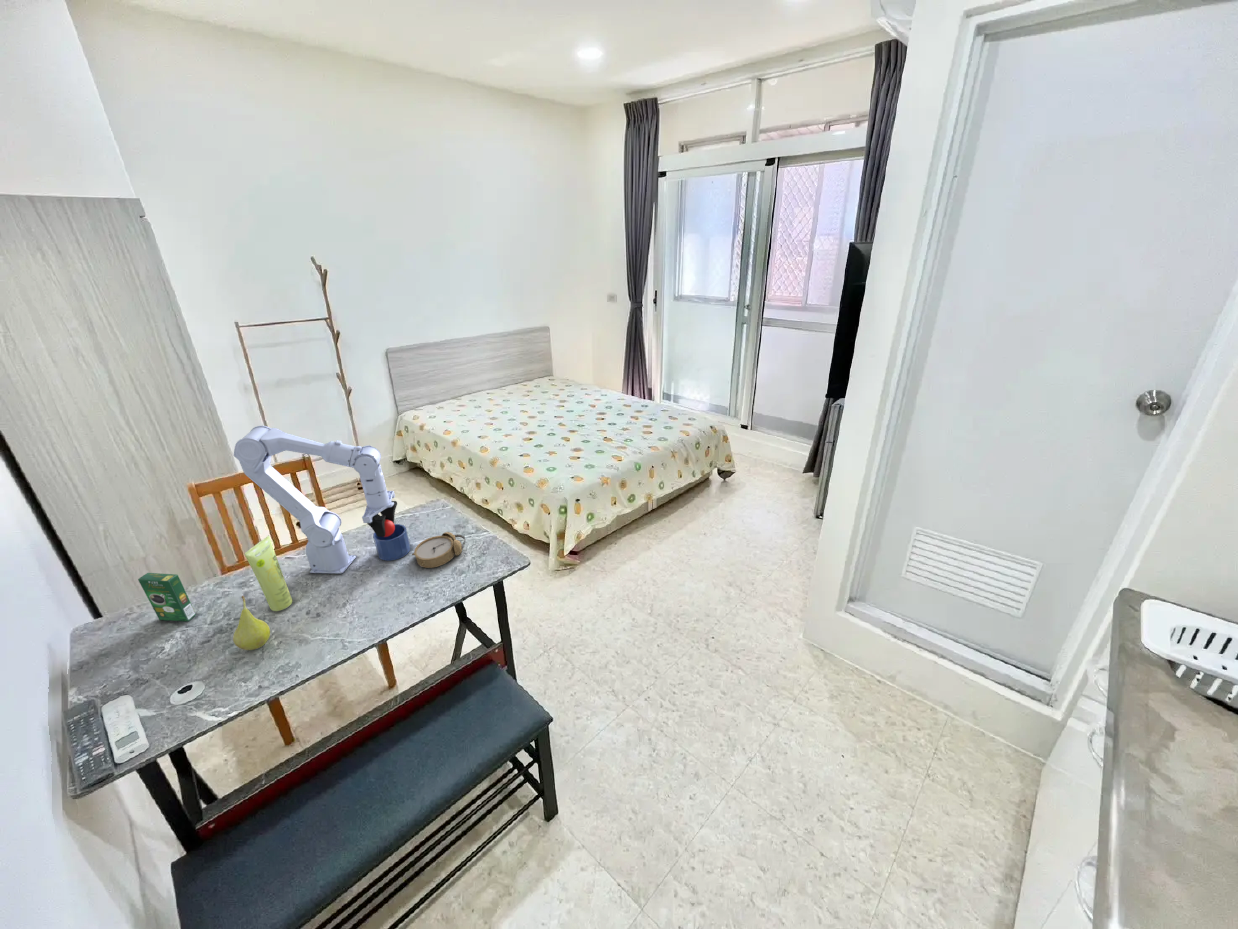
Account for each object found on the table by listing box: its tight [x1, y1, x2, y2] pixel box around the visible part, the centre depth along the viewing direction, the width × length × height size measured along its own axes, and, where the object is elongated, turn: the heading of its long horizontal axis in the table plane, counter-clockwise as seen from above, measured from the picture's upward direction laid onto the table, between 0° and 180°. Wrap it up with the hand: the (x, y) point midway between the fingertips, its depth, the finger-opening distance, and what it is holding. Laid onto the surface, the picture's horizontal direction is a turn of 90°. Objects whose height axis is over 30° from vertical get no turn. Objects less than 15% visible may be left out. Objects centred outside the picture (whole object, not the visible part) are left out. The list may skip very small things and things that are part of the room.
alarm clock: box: [411, 531, 467, 569], centre depth 144 cm, size 11×5×15 cm
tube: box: [244, 534, 293, 612], centre depth 121 cm, size 6×5×20 cm
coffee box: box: [137, 572, 197, 623], centre depth 119 cm, size 8×3×13 cm, turn 86°
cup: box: [372, 523, 411, 562], centre depth 145 cm, size 9×9×7 cm
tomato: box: [384, 519, 395, 537], centre depth 139 cm, size 5×5×6 cm
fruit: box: [232, 595, 271, 651], centre depth 111 cm, size 7×8×12 cm
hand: (385, 530), depth 140 cm, fingers closed on tomato, 5 cm apart
